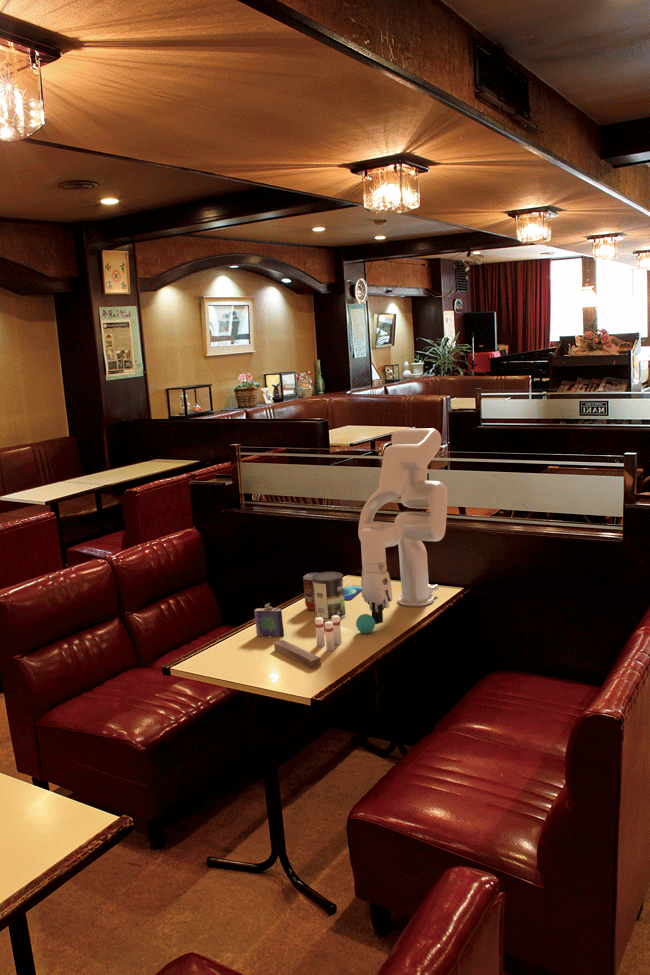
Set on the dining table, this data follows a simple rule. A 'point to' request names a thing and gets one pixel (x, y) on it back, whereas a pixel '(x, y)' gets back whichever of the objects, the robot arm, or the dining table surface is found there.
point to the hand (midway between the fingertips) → (377, 622)
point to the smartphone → (351, 592)
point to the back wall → (297, 654)
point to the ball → (365, 623)
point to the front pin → (336, 629)
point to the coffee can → (329, 595)
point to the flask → (269, 622)
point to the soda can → (309, 591)
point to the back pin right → (319, 631)
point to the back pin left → (329, 636)
